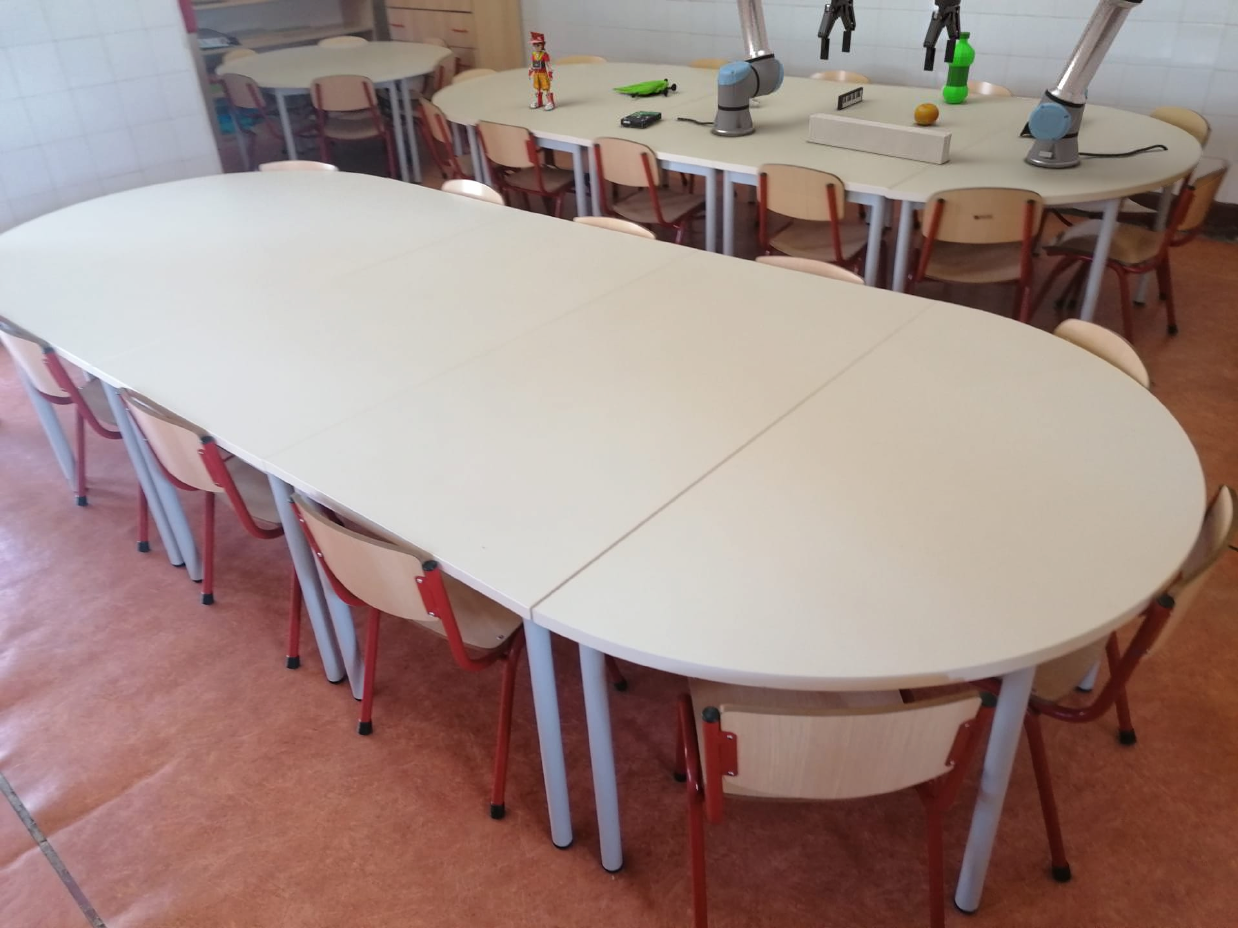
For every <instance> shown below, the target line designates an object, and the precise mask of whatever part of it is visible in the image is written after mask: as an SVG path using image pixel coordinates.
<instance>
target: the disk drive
mask: <svg viewBox="0 0 1238 928" xmlns="http://www.w3.org/2000/svg"><path fill="white" fill-rule="evenodd" d="M661 119H663V118H662V112H659V111H652V110H651V111H645V110H638V111H636V112H633V113H631V114H629V115H627V116H624V117H622V118H620V126H622V127H628V128H629V127H630V128H640V129H644V128H645V127H648V126H650V125H652V124H654V123H656V122H658V121H660V120H661Z"/></svg>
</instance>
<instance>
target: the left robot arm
mask: <svg viewBox="0 0 1238 928" xmlns="http://www.w3.org/2000/svg"><path fill="white" fill-rule="evenodd" d="M736 3H737V10H738V15H739V22H740V28H741V34H742V40H743V45H744V52H745V57H744V58H743V60H742V61H741V60H740V61H739V60H738V61H732V62H728V63H726V64H723V65H722V66H720V68H718V73H717V74H718V75H717V111H716V114H715V118H714V120H713V121H698V120H697V119H693V118H687V117H677V119H676V120H677V121H686V122H687V121H688V122H691V123H695V124H697V125H701V126H703V125H704V126H705V125H712V133H713V134H715V135H717V136H721V137H741V136H746V135H750V134H752V133H754V127H755V121H753V118H752V115H751V111H750V106H749V99H750V98H754V99H755V98H759V97H764V96H769V95H770V94H771V95H772V94H774V93H775V92H777V91H779V89H780V88H781V85H782V84H783V82H784V78H785V77H784V76H785V71H784V70H785V69H784V66H783V64H782V63H781V61H780V60H779V59H777V58H776V57H775V53H774V52H773V51H772V50H771V49H770V47H769V40H768V33H767V27H766V21H765V15H764V9H763V3H762V0H736ZM823 9H824V11H823V15H822V18H821V21H820V24H819V28H818V32H817V37H818V39H820V42H821V43H820V55H819V59H820V60H822V61H828V60H829V58H830V57H829V56H830V55H829V54H830V45H831V44H830V43H831V42H830V41H831V38H830V35H831V33H832V30H833V28H834V26H835V23H836V21H837V20H838V19H839V18H840V20H841V23H842V26H843V28H844V30H843V32H842V42H841V53H851V45H852V33H853V32H855V31H856V27H857V22H856V15H855V10H854V0H830V3H826V4H825V5H824V8H823Z"/></svg>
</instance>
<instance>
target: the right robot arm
mask: <svg viewBox="0 0 1238 928" xmlns="http://www.w3.org/2000/svg"><path fill="white" fill-rule="evenodd" d="M1143 1H1144V0H1099V1H1098V3H1097V5H1096V7H1095V9H1094V10H1093V12H1092V15H1091V16H1090V17H1089V20H1088V22H1087V23H1086V26H1085V27H1084V29H1083V31H1082V33H1081V35H1080V37H1079V39H1078V41H1077V43H1076V44H1075V46H1074V48H1073V50H1072V52H1071V54H1070V56H1069V57H1068V59H1067V61H1066V63H1065V65H1064V66H1063V69H1062V70H1061V72H1060V74H1059V76H1058V78H1057V80H1056V81H1055V82H1054V83H1052V84H1050V85H1048V86H1047V88H1046V89H1045V91H1044V94H1042V97H1041V99H1040V101H1039V102H1038V105H1037V106H1036V107H1035V108H1033V110H1032V111H1031V113H1030V116H1029V118H1028V121H1029V129H1030V132H1031V133H1032V135H1033V136H1032V135H1031V136H1032V137H1033V138H1034V139H1035V140H1034V142H1033V144H1032V146H1031V148H1030V150H1028V152H1027V155H1026V162H1027V163H1029V164H1030V165H1032V166H1036V167H1039V168H1040V167H1041V168H1047V169H1049V168H1050V169H1067V168H1071V167H1075V166H1077V165H1078V164H1079V161H1080V156H1082V157H1083V156H1084V157H1085V156H1086V157H1103V158H1106V157H1107V158H1110V157H1113V158H1115V157H1126V156H1131V155H1135V154H1138V153H1141V152H1145V151H1149V150H1153V149H1157V148H1161V149H1162V150H1164V151H1168V150H1169V149H1168V147H1167V146H1166V145H1164V144H1154V145H1150V146H1147V147H1143V148H1138V149H1135V150H1132V151H1128V152H1121V153H1120V152H1119V153H1093V152H1081V151H1080V152H1079V140H1078V138H1079V137H1078V136H1079V135H1080V128H1081V124H1082V120H1083V117H1084V112H1085V108H1086V104H1087V100H1088V94H1089V89H1088V87H1089V86H1090V84H1091V82H1092V80H1093V78H1094V77H1095V75H1096V73H1097V71H1098V69H1099V68H1100V66H1101V64H1102V62H1103V61H1104V59H1105V57H1106V55H1107V54H1108V52H1109V50H1110V48H1111V47H1112V45H1113V43H1114V41H1115V40H1116V38H1117V36H1118V34H1119V33H1120V31H1121V29H1122V27H1123V25H1124V24H1125V22H1126V20H1127V18H1128V16H1129V14H1130V13H1131V11H1132V9H1134V8H1135V7H1138V6H1140V5H1141V4H1142V3H1143ZM961 3H962V0H934V5H935V6H936V7H938V8H937V11H936V10H933V11H932V12H931V17H930V18H931V19H930V22H929V25H928V27H927V31H926V33H925V37H924V40H923V43H922V47H923V48H924V49H926V50H925V57H924V65H923V71H925V72H933V71H934V66H935V57H936V53H937V51H936V50H937V47H936V45H937V43H938V40H939V38H940V37H941V34H942V31H943V29H944V28H946V33H947V36H948V39H947V40H946V43H945V45H946V46H945V50H944V51H945V52H944V58H943V63H947V64H948V63H953V59H954V53H955V46H956V44H957V41H959V39H960V35H961V32H962V31H961V28H962V27H961V13H960V12H961Z"/></svg>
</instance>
